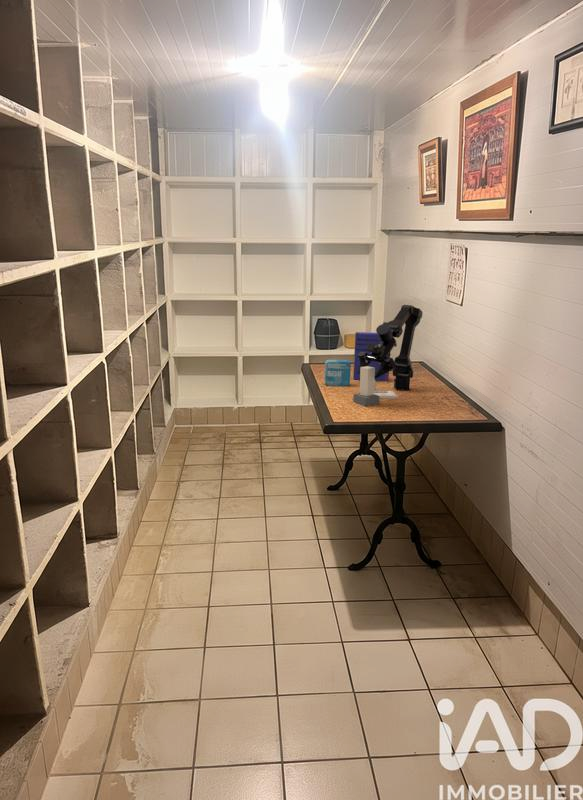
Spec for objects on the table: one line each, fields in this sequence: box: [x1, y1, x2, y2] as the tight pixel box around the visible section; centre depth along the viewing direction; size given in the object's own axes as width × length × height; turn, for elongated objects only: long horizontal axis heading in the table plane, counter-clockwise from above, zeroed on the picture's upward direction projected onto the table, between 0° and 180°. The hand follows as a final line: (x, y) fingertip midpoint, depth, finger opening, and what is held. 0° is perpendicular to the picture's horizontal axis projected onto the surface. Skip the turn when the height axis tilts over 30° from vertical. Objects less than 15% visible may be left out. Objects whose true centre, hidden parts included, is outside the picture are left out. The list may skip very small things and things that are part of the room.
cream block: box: [359, 366, 375, 396], centre depth 261 cm, size 4×4×12 cm
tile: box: [374, 390, 398, 399], centre depth 276 cm, size 12×9×1 cm
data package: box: [324, 359, 352, 387], centre depth 294 cm, size 12×4×12 cm, turn 93°
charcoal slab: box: [352, 392, 381, 407], centre depth 263 cm, size 8×8×4 cm
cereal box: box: [352, 331, 391, 382], centre depth 304 cm, size 17×5×24 cm, turn 88°
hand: (366, 376), depth 260 cm, fingers open, 9 cm apart
